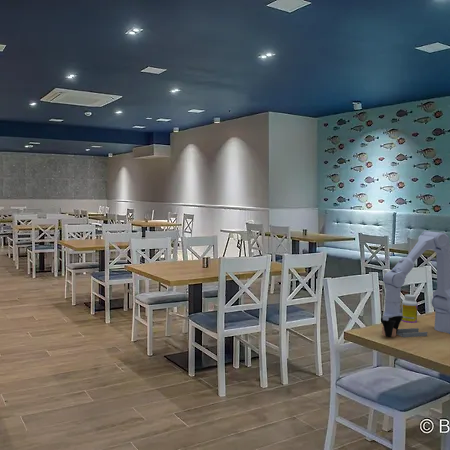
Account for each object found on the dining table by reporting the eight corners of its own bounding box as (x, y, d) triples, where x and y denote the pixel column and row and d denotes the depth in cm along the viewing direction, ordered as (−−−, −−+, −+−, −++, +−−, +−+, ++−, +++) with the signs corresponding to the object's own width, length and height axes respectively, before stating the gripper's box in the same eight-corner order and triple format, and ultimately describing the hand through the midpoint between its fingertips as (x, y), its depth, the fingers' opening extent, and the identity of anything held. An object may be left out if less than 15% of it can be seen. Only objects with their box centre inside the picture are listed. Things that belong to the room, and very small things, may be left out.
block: (391, 326, 206) (382, 326, 206) (396, 329, 202) (386, 329, 202) (390, 336, 206) (381, 336, 206) (395, 339, 203) (386, 339, 202)
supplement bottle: (417, 325, 224) (419, 297, 223) (402, 324, 225) (403, 296, 224) (415, 322, 231) (416, 294, 230) (400, 321, 232) (401, 293, 231)
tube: (417, 334, 210) (417, 328, 210) (427, 338, 204) (427, 332, 204) (393, 335, 207) (394, 329, 207) (402, 340, 201) (403, 333, 201)
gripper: (396, 306, 194) (394, 340, 195) (408, 300, 206) (407, 333, 207) (378, 303, 199) (376, 337, 200) (391, 297, 210) (390, 329, 211)
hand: (391, 334), depth 204 cm, fingers closed on block, 6 cm apart
